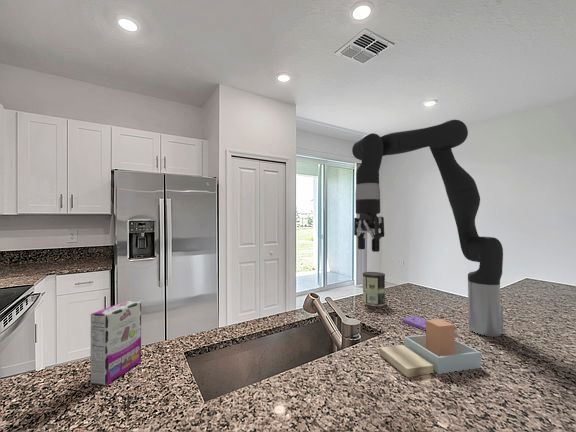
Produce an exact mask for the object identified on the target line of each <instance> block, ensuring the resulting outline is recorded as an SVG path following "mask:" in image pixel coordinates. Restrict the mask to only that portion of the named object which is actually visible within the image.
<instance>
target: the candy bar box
mask: <svg viewBox="0 0 576 432" xmlns="http://www.w3.org/2000/svg"><path fill="white" fill-rule="evenodd" d="M141 362H142V301H137V300H126V301H123V302H119V303H117V304H113V305H111V306H108V307H105V308H104V309H100V310H99V311H95V312H92V313H90V369H89V371H90V376H89V377H90V379H89V381H90V384H93V385H101V386H108V385H110V384H111V383H113V382H114V381H115V380H117V379H119V378H120V377H122V376H123V375H125V374H126V373H127V372H128V371H130V370H132V369H134V367H136V366H137V365H139V364H140V363H141Z"/></svg>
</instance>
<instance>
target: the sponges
mask: <svg viewBox="0 0 576 432" xmlns="http://www.w3.org/2000/svg"><path fill="white" fill-rule="evenodd" d="M426 320H427V319H424V318H422V317H419V316H416V315H413V316H412V315H411V316H408V317H403V318H402V323H405V324H407V325H410V326H412V327H414V326H415V328H417V327H418V328H417V329H419V328H422V329H425V330H426ZM422 329H421V330H422Z"/></svg>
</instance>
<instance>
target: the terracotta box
mask: <svg viewBox="0 0 576 432" xmlns="http://www.w3.org/2000/svg"><path fill="white" fill-rule="evenodd" d="M425 320H426V331H425V334H426V349H427V350H429V351H430V352H432V353H434V354H435V355H437V356H447V355H454V354H455V340H456V337H455V336H456V335H455V334H456V333H455V332H456V327H455V324H454V323H451V322H449V321H446V320H444V319H441V318H436V319H435V318H433V319H425Z"/></svg>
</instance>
